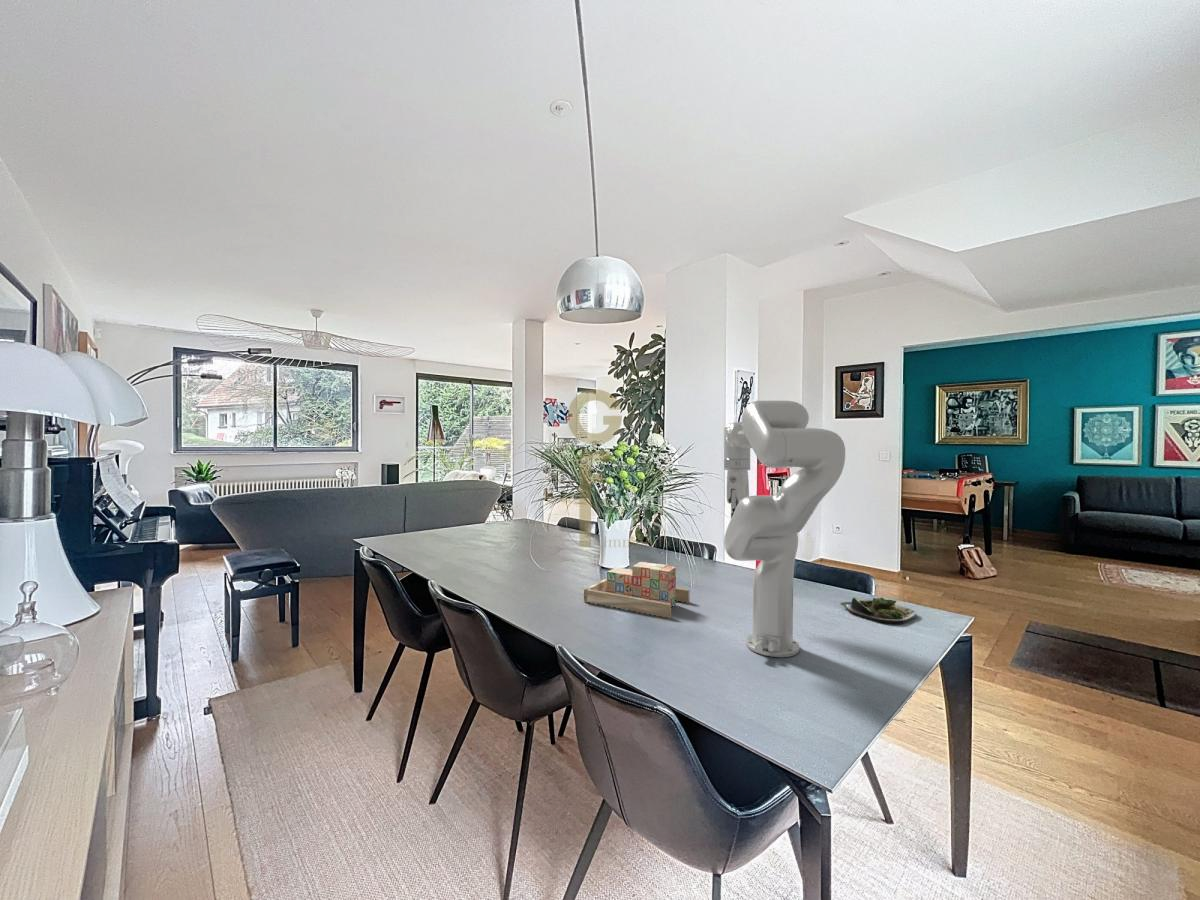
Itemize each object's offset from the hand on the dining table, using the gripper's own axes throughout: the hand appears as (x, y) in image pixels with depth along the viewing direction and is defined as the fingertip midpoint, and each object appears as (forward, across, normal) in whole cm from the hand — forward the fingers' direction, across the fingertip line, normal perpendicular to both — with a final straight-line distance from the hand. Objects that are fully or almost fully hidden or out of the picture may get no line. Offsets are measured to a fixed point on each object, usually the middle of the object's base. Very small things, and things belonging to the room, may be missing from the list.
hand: (737, 526), depth 153 cm
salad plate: (+26, +17, -38) cm, 49 cm away
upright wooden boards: (+26, -5, +30) cm, 40 cm away
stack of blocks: (+26, -4, +29) cm, 39 cm away
